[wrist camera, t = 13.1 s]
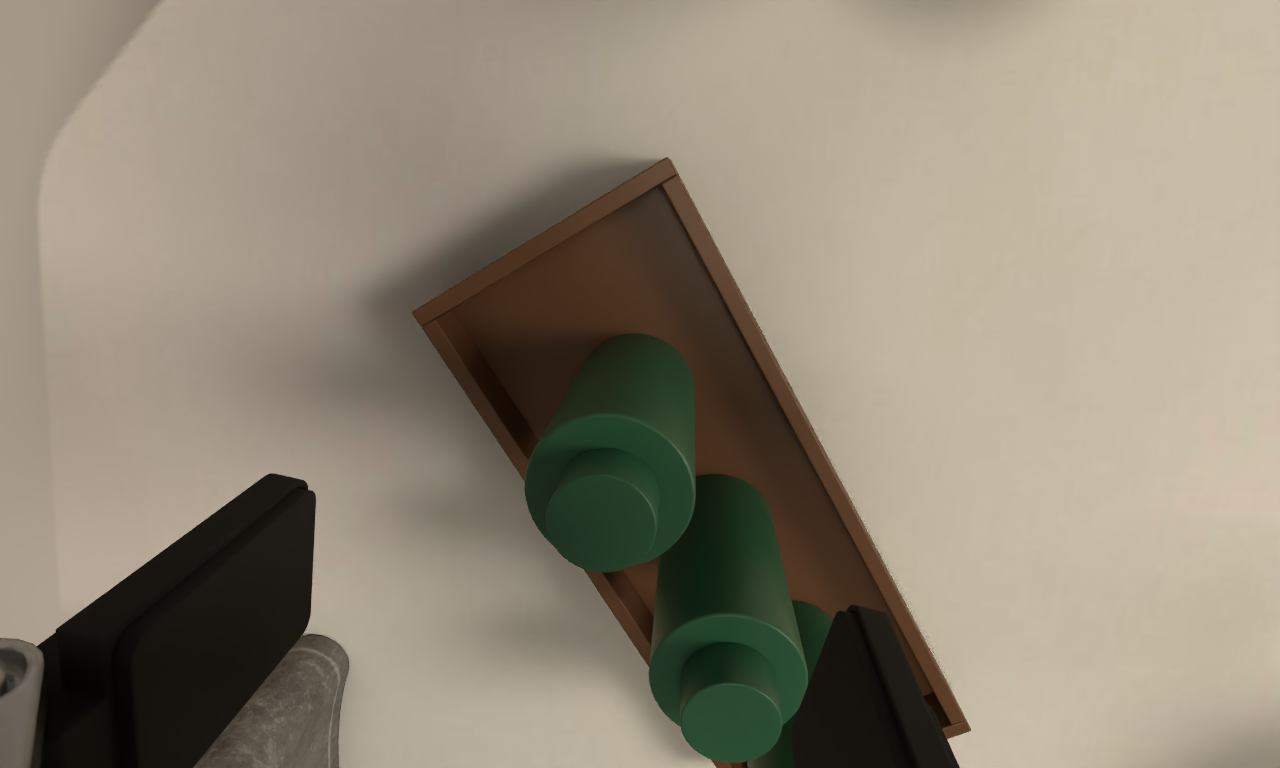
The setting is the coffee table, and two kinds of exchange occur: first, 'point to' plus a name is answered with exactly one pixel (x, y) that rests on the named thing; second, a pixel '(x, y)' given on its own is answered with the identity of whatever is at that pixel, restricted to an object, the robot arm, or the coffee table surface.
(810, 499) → the tray
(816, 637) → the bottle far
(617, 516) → the bottle
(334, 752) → the flask
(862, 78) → the coffee table surface
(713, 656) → the bottle mid
